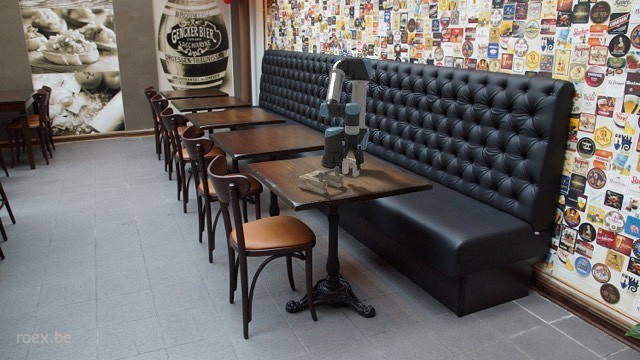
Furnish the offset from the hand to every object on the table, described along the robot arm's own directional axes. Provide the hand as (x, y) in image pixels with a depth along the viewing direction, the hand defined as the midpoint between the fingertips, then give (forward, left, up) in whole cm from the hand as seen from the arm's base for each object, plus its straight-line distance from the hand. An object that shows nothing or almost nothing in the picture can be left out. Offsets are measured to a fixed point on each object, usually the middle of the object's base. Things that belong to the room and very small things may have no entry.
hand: (350, 173), depth 259 cm
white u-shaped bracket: (0, 0, 0) cm, 0 cm away
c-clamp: (+16, -8, -5) cm, 18 cm away
